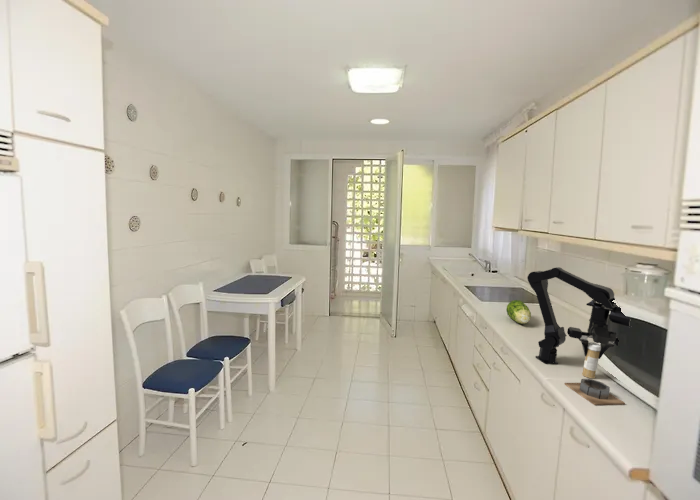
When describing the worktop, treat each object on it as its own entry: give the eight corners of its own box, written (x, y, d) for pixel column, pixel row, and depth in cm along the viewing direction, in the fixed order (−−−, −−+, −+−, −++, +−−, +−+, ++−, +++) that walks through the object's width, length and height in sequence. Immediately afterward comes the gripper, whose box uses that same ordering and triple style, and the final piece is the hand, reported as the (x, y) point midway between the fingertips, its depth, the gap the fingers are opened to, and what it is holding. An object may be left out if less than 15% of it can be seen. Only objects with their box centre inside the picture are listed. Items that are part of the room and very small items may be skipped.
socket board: (564, 384, 139) (564, 382, 139) (592, 383, 141) (592, 382, 141) (594, 405, 125) (595, 403, 125) (624, 404, 127) (625, 402, 127)
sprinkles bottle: (583, 372, 151) (588, 340, 149) (596, 376, 148) (602, 344, 146) (580, 375, 148) (586, 343, 146) (594, 380, 144) (600, 347, 143)
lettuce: (512, 327, 202) (515, 307, 200) (503, 315, 222) (505, 297, 221) (534, 329, 200) (538, 309, 199) (523, 318, 220) (526, 299, 219)
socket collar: (574, 386, 137) (575, 378, 136) (594, 386, 138) (595, 378, 138) (593, 399, 128) (594, 391, 128) (614, 398, 130) (615, 390, 129)
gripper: (576, 320, 140) (569, 359, 142) (635, 330, 134) (627, 371, 136) (570, 312, 150) (563, 349, 152) (624, 321, 144) (617, 359, 146)
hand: (592, 357), depth 147 cm, fingers closed on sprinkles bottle, 4 cm apart
